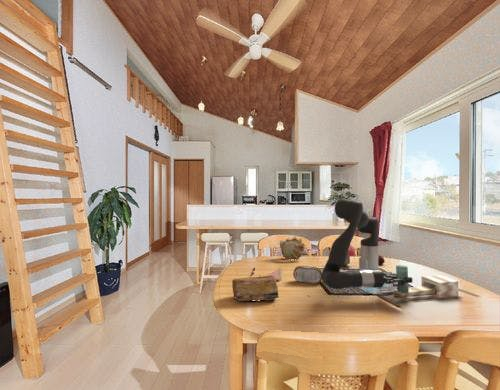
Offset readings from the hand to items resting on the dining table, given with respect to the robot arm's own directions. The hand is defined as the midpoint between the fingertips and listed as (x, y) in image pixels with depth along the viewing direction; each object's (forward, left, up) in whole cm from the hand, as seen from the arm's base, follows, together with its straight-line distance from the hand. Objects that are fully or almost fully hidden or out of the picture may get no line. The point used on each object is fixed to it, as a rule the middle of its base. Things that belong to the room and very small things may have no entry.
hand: (408, 278), depth 115 cm
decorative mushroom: (+5, +59, -10) cm, 60 cm away
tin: (-33, +31, -10) cm, 47 cm away
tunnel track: (+11, +1, -9) cm, 14 cm away
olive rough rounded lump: (-23, +81, -10) cm, 85 cm away
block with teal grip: (+4, 0, -8) cm, 9 cm away
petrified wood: (-65, +16, -10) cm, 67 cm away
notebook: (-49, +51, -10) cm, 72 cm away
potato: (+29, +58, -10) cm, 66 cm away
